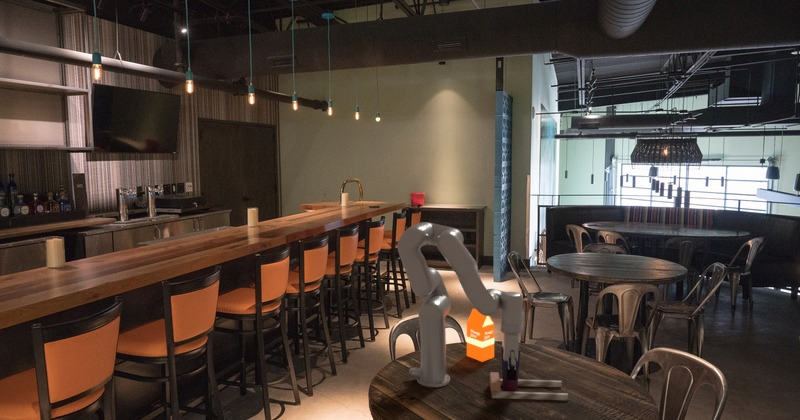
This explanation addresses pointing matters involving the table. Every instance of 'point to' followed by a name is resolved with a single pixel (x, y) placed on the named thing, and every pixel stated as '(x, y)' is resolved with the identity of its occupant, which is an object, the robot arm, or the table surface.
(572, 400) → the table surface
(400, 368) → the table surface
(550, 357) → the table surface
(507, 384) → the cup
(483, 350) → the orange juice
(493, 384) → the track
